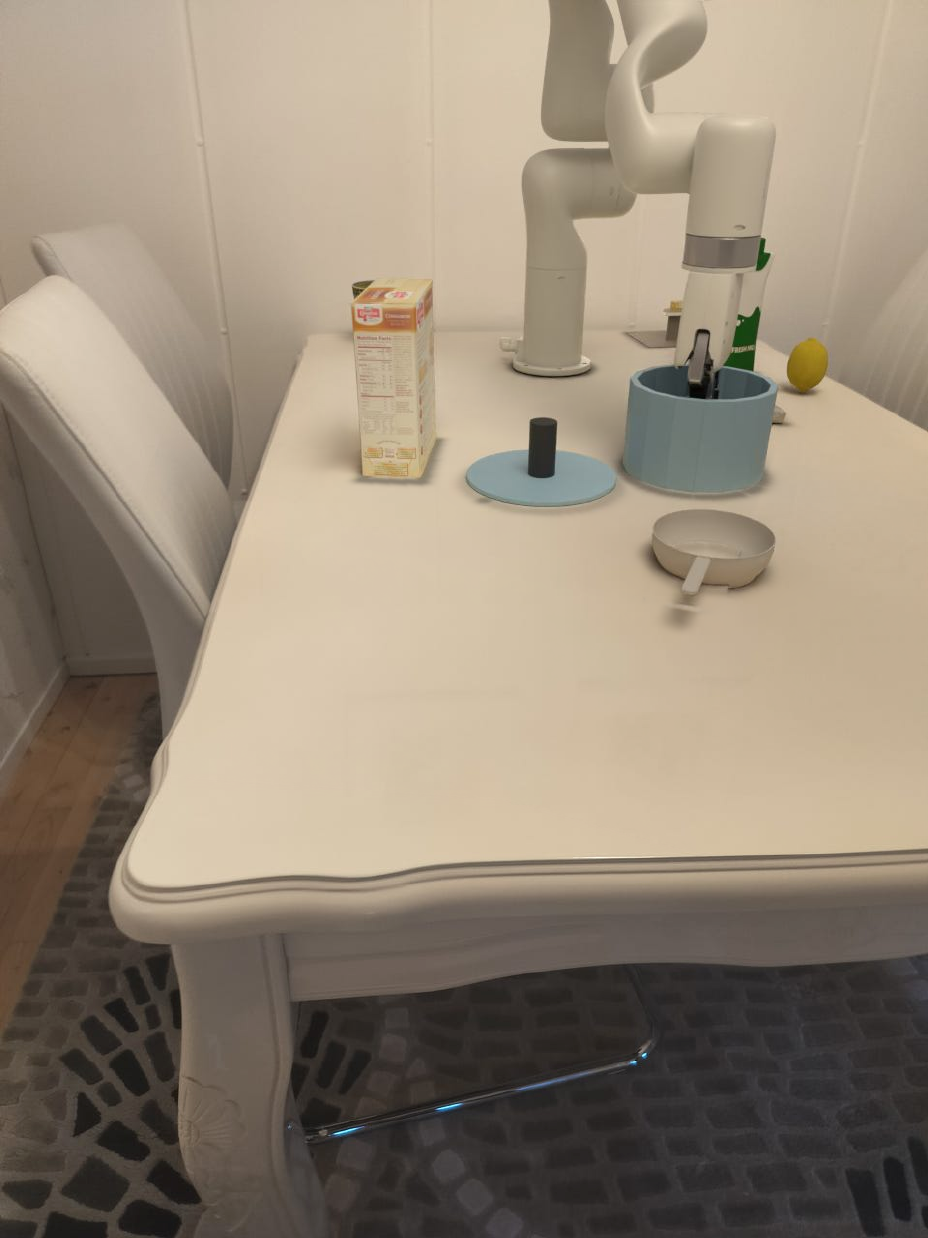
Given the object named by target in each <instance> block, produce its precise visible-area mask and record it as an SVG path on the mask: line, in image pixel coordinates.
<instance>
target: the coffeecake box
mask: <svg viewBox="0 0 928 1238" xmlns="http://www.w3.org/2000/svg"><path fill="white" fill-rule="evenodd" d="M374 280H375V281H374V282H373V283H371V284H370V285H369V286H368V287H367V288H366V289H365V290H364V291H363V292H362V293H361V294H360V295H358V296H357V297H356V298H355V299H354V298H353V300H352V301H351V302H350V303H349V305H350V312H351V325H352V337H353V338H352V339H353V340H352V341H353V352H354V354H353V356H354V369H355V381H356V382H355V383H356V394H357V395H356V396H357V409H358V411H357V412H358V424H359V425H358V426H359V441H360V457H361V458H360V459H361V474H362V476H364V477H365V476H366V477H386V478H387V477H389V478H390V477H391V478H413V479H414V478H417V479H419V478H421V477H422V475H423V473H424V471H425V469H426V466H427V464H428V461H429V459H430V456H431V453H432V451H433V448H434V446H435V443H436V440H437V421H436V420H437V419H436V418H437V417H436V415H437V414H436V372H435V371H436V369H435V334H434V333H435V331H434V298H433V296H434V293H433V290H434V289H433V288H434V287H433V283H434V279H430V278H429V279H427V278H404V277H403V278H401V277H381V278H376V279H374Z"/></svg>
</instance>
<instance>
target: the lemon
mask: <svg viewBox="0 0 928 1238" xmlns="http://www.w3.org/2000/svg"><path fill="white" fill-rule="evenodd" d="M828 363H829V356H828V351H827V348H826V347H825V346H824V344H823V343H821V342H820V341H819V340H817V339H816V337H808V339H805V340H803V341H801V342H799V343H798V344H797V345H795V346H794V348H793V349H792V350H791V353H790V355H789V357H788V360H787V362H786V376H787V380H788V381H789V383H790V384H791V386H793V387H795V388H796V389H797V390H798V391H799V393H802V394H804V393H805V392H807V391H809V390H810V389H813V388H815V387H817V386H818V385H819V384H820V383H821V382H822V381H823V380H824V378H825V376H826V373H827V371H828V365H829V364H828Z"/></svg>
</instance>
